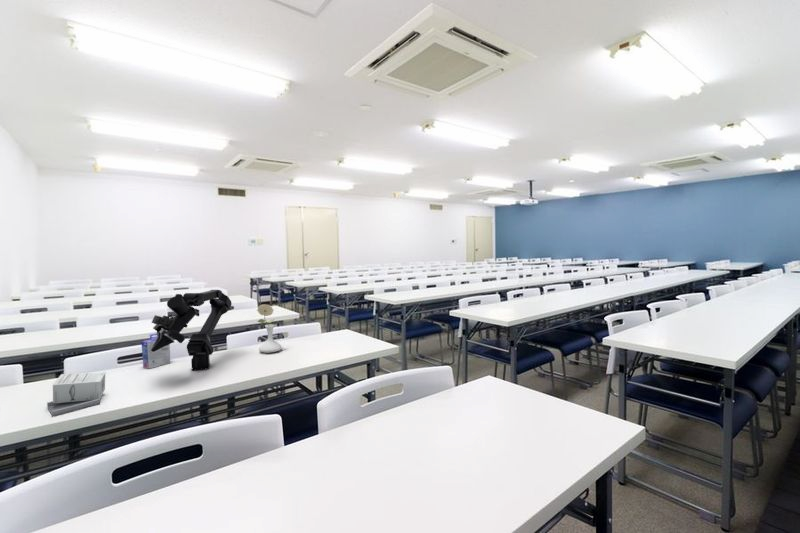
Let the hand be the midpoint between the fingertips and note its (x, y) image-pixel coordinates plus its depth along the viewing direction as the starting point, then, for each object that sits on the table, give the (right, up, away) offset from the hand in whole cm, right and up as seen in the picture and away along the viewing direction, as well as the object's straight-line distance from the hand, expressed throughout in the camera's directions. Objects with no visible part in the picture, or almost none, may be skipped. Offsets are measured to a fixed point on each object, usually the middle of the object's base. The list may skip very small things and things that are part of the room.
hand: (152, 351), depth 139 cm
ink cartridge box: (-15, -13, +24) cm, 31 cm away
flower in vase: (+29, -11, +46) cm, 56 cm away
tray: (-15, -15, -18) cm, 27 cm away
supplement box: (-10, -10, -11) cm, 18 cm away
